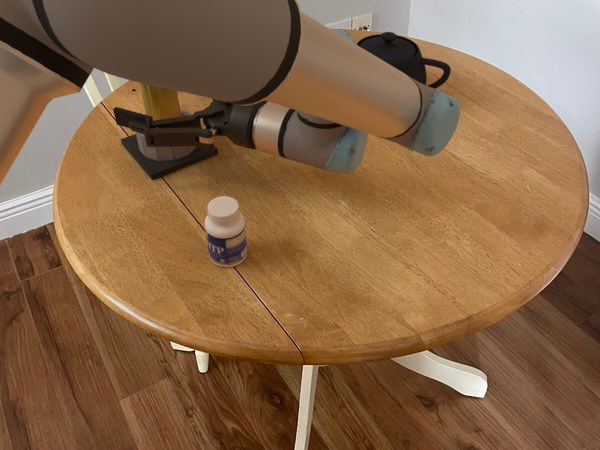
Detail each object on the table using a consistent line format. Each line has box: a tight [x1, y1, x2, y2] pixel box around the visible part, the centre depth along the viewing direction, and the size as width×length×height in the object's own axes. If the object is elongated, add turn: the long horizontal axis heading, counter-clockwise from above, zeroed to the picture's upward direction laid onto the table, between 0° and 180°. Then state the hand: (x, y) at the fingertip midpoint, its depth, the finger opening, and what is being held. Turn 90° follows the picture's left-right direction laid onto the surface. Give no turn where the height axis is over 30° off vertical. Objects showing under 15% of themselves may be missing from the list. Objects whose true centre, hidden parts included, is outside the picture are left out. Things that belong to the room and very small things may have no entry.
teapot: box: [356, 31, 452, 89], centre depth 107 cm, size 25×16×12 cm, turn 70°
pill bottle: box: [204, 195, 248, 268], centre depth 77 cm, size 5×5×9 cm
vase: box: [140, 83, 181, 128], centre depth 93 cm, size 6×6×14 cm
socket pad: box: [120, 109, 219, 181], centre depth 96 cm, size 12×12×5 cm
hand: (142, 94), depth 93 cm, fingers open, 13 cm apart
